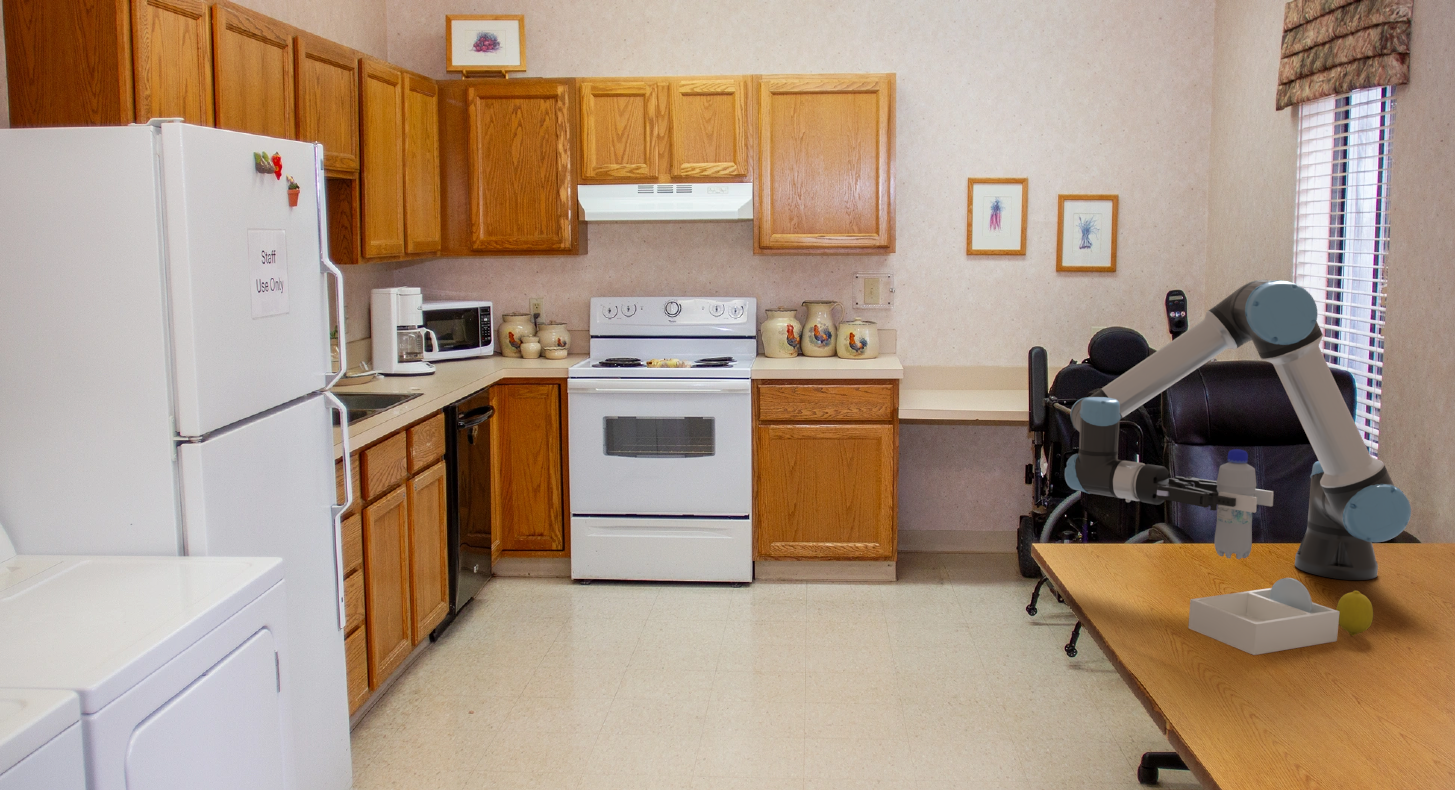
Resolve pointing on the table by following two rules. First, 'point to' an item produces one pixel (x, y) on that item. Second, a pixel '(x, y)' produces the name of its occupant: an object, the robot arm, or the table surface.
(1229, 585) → the table surface
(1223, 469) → the bottle
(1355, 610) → the lemon
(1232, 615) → the divided tray
